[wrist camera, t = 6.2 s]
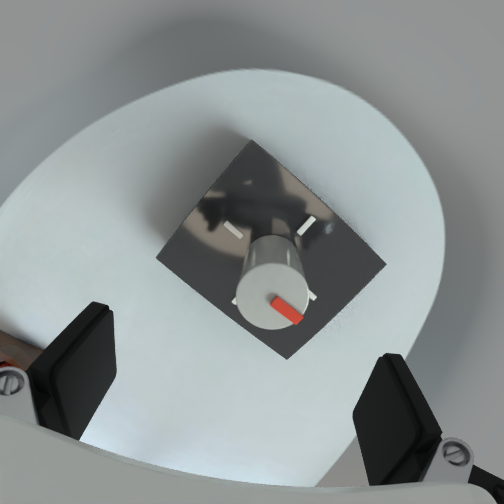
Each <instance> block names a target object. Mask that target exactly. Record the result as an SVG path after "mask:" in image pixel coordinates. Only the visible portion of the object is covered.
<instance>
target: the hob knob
mask: <svg viewBox="0 0 504 504" xmlns="http://www.w3.org/2000/svg"><path fill="white" fill-rule="evenodd" d="M236 303H237V307H238V309H239V311H240V313H241V314H242V316H243V317H244V318H245V319H246V320H247V321H249V322H250V323H251V324H253V325H255V326H257V327H260V328H263V329H270V330H273V329H281V328H285V327H288V326H290V325H292V324H293V323H294V324H295V325H297V324H298V323H299V322H300V321H301V320H302V319H303V314H304V312H305V311H306V309H307V306H308V303H309V288H308V284H307V281H306V277H305V273H304V270H303V266H302V263H301V259H300V256H299V253H298V250H297V248H296V247H295V246H294V244H293V243H292V242H291V241H289V240H288V239H286V238H284V237H281V236H278V235H267V236H263V237H260V238H258V239H257V240H255V241H254V242H253V243H252V244H251V245H250V246H249V247H248V249H247V251H246V253H245V256H244V260H243V264H242V268H241V272H240V276H239V281H238V285H237V289H236Z"/></svg>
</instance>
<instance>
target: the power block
mask: <svg viewBox="0 0 504 504" xmlns="http://www.w3.org/2000/svg"><path fill="white" fill-rule="evenodd" d="M42 352H43V350H41V349H39V348H36V347H34V346H32V345H30V344H27V343H25V342H23V341H21V340H19V339H16V338H14V337H12V336H10V335H8V334H6V333H4V332H2V331H0V366H1V365H2V364H3V363H5V362H7V363H9V364H11V365H13V366H14V367H17V368H20V369H21V370H23V371H24V372H25V371H26V370H27V368H28V367H29V366H30V365H31V364H32V363H33V362H34V361H35V360H36V358H37V357H38V356H39V355H40V354H41V353H42Z"/></svg>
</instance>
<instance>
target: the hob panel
mask: <svg viewBox="0 0 504 504" xmlns="http://www.w3.org/2000/svg"><path fill="white" fill-rule="evenodd" d="M267 235H278V236H281V237H284V238H286V239H288V240H289V241H291V242H292V243H293V244H294V246H295V247H296V248H297V250H298V253H299V256H300V259H301V263H302V266H303V270H304V273H305V277H306V281H307V284H308V288H309V303H308V306H307V309H306V311H305V312H304V314H303V319H302V320H301V321H300V322H299V323H298V324H297V325H295V324H294V323H293V324H292V325H290V326H288V327H285V328H281V329H273V330H270V329H263V328H260V327H257V326H255V325H253V324H251V323H250V322H249V321H247V320H246V319H245V318H244V317H243V316H242V314H241V313H240V311H239V309H238V307H237V303H236V289H237V285H238V281H239V276H240V272H241V268H242V264H243V260H244V256H245V253H246V251H247V249H248V247H249V246H250V245H251V244H252V243H253V242H254V241H255V240H257V239H258V238H260V237H263V236H267ZM156 259H158V260H159V261H160V262H161V263H162V264H164V265H165V266H166V267H167V268H168V269H170V270H171V271H172V272H173V273H175V274H176V275H177V276H178V277H179V278H181V279H182V280H183V281H184V282H186V283H187V284H188V285H189V286H190V287H192V288H193V289H194V290H195V291H197V292H198V293H199V294H200V295H202V296H203V297H204V298H206V299H207V300H208V301H209V302H211V303H212V304H213V305H214V306H216V307H217V308H218V309H220V310H221V311H222V312H223V313H225V314H226V315H227V316H229V317H230V318H231V319H233V320H234V321H235V322H236V323H238V324H239V325H240V326H242V327H243V328H244V329H246V330H247V331H248V332H250V333H251V334H252V335H254V336H255V337H256V338H258V339H259V340H260V341H262V342H263V343H264V344H266V345H267V346H269V347H270V348H271V349H273V350H274V351H275V352H277V353H278V354H280V355H281V356H282V357H284V358H285V359H286V360H287V359H289V358H290V357H291V356H292V355H293V354H294V353H295V352H297V351H298V350H299V349H300V348H301V347H302V346H303V345H304V344H306V343H307V342H308V341H309V340H310V339H311V338H312V337H313V336H314V335H315V334H317V333H318V332H319V331H320V330H321V329H322V328H323V327H324V326H325V325H326V324H327V323H328V322H329V321H331V320H332V319H333V318H334V317H335V316H336V315H337V314H338V313H339V312H340V311H341V310H342V309H343V308H344V307H345V306H346V305H347V304H348V303H349V302H350V301H351V300H352V299H353V298H354V297H355V296H356V295H357V294H358V293H359V292H360V291H361V290H362V289H363V288H364V287H365V286H366V285H367V284H368V283H369V282H370V281H371V280H372V279H373V278H374V277H375V276H376V275H377V274H378V273H379V272H380V271H381V270H382V269H383V268H384V267H385V266H386V263H385V262H384V261H383V260H382V259H381V258H380V257H379V256H378V255H377V254H376V253H375V252H374V251H373V250H372V249H371V248H370V247H369V246H368V245H367V244H366V243H365V242H364V241H363V240H362V239H361V238H360V237H359V236H358V235H357V234H356V233H355V232H354V231H353V230H352V229H351V228H350V227H349V226H348V225H347V224H346V223H345V222H344V221H343V220H342V219H341V218H340V217H339V216H338V215H336V214H335V213H334V212H333V211H332V210H331V209H330V208H329V207H328V206H327V205H326V204H325V203H324V202H323V201H322V200H320V199H319V198H318V197H317V196H316V195H315V194H314V193H313V192H312V191H311V190H310V189H308V188H307V187H306V186H305V185H304V184H303V183H302V182H301V181H300V180H298V179H297V178H296V177H295V176H294V175H293V174H292V173H291V172H289V171H288V170H287V169H286V168H285V167H284V166H283V165H281V164H280V163H279V162H278V161H277V160H276V159H274V158H273V157H272V156H271V155H270V154H269V153H267V152H266V151H265V150H264V149H263V148H262V147H260V146H259V145H258V144H257V143H256V142H254V141H253V140H251V141H250V142H249V143H248V144H247V145H246V147H245V148H244V149H243V150H242V151H241V152H240V153H239V155H238V156H237V157H236V158H235V159H234V160H233V162H232V163H231V164H230V165H229V166H228V167H227V169H226V170H225V171H224V172H223V173H222V175H221V176H220V177H219V178H218V179H217V181H216V182H215V183H214V184H213V185H212V187H211V188H210V189H209V190H208V192H207V193H206V194H205V195H204V196H203V198H202V199H201V200H200V201H199V203H198V204H197V205H196V206H195V208H194V209H193V210H192V211H191V213H190V214H189V215H188V216H187V218H186V219H185V220H184V221H183V223H182V224H181V225H180V226H179V228H178V229H177V230H176V232H175V233H174V234H173V236H172V237H171V238H170V239H169V241H168V242H167V243H166V245H165V246H164V247H163V249H162V250H161V251H160V253H159V254H158V255H157V257H156Z"/></svg>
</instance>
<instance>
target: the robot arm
mask: <svg viewBox="0 0 504 504" xmlns="http://www.w3.org/2000/svg"><path fill="white" fill-rule="evenodd" d="M116 372H117V368H116V355H115V339H114V317H113V311H112V310H109V306H108V305H105V304H101V303H98V302H91V303H90V304H89V305H88V306H87V307H86V308H85V309H84V310H83V311H82V312H81V313H80V314H79V315H78V316H77V317H76V318H75V319H74V320H73V321H72V322H71V323H70V324H69V325H68V326H67V327H66V328H65V329H64V330H63V331H62V332H61V333H60V334H59V335H58V336H57V337H56V338H55V339H54V340H53V342H52V343H51V344H50V345H49V346H48V347H47V348H46V349H45V350H44V351H43V352H42V353H41V354H40V355H39V356H38V357H37V358H36V360H35V361H34V362H33V363H32V364H31V365H30V366H29V367H28V368H27V370H26V371H25V372H24V371H23V370H21V369H20V368H17V367H13V366H6V367H2V368H0V504H504V480H502V479H500V478H498V477H496V476H494V475H492V474H490V473H489V472H486V471H485V470H483V469H480V468H479V467H477V466H475V465H473V462H474V454H473V451H472V449H471V448H470V447H469V445H468V444H467V443H465V442H463V441H462V440H460V439H457V438H446V439H444V440H442V438H441V434H442V430H441V428H440V426H439V425H438V422H437V421H436V419H435V417H434V415H433V413H432V411H431V409H430V407H429V405H428V403H427V401H426V399H425V397H424V395H423V394H422V392H421V390H420V388H419V386H418V384H417V383H416V381H415V379H414V377H413V375H412V373H411V372H410V370H409V368H408V366H407V364H406V363H405V361H404V359H403V357H402V356H401V355H400V354H391V353H385V354H384V355H383V357H379V358H378V360H377V362H376V364H375V367H374V369H373V371H372V373H371V375H370V378H369V380H368V382H367V384H366V386H365V388H364V390H363V392H362V394H361V396H360V398H359V400H358V402H357V404H356V406H355V408H354V410H353V421H354V425H355V429H356V433H357V437H358V441H359V444H360V449H361V453H362V457H363V461H364V465H365V469H366V473H367V477H368V482H369V486H361V487H295V486H278V485H266V484H256V483H247V482H239V481H232V480H225V479H219V478H213V477H207V476H201V475H196V474H191V473H186V472H182V471H177V470H173V469H168V468H164V467H160V466H156V465H152V464H149V463H145V462H141V461H138V460H134V459H131V458H128V457H125V456H121V455H118V454H115V453H112V452H109V451H106V450H103V449H100V448H97V447H94V446H92V445H89V444H86V443H83V442H81V441H79V440H80V438H81V436H82V434H83V432H84V431H85V429H86V427H87V425H88V424H89V422H90V420H91V418H92V417H93V415H94V413H95V411H96V410H97V408H98V406H99V405H100V403H101V401H102V399H103V398H104V396H105V394H106V393H107V391H108V389H109V388H110V386H111V384H112V382H113V381H114V379H115V377H116Z"/></svg>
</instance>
